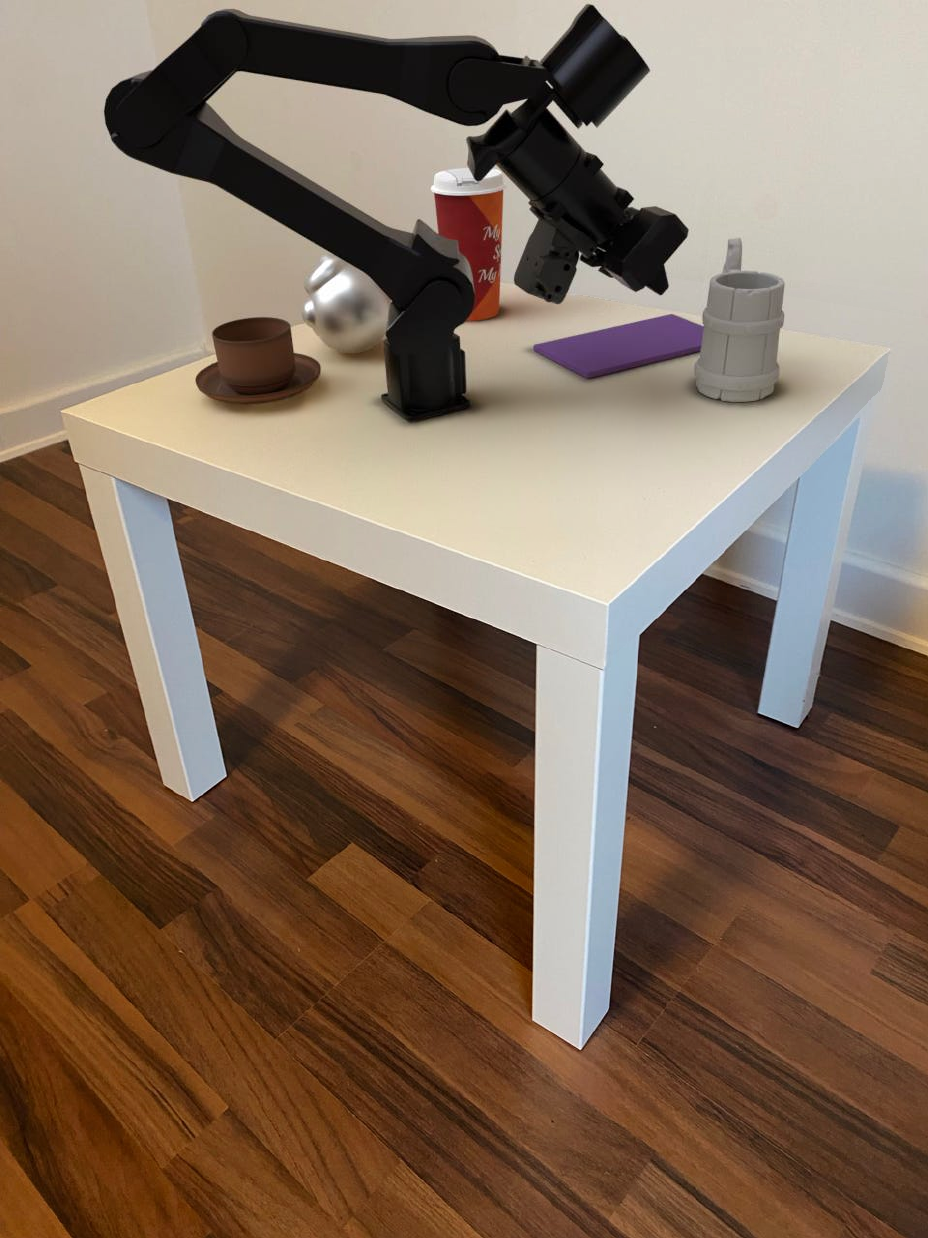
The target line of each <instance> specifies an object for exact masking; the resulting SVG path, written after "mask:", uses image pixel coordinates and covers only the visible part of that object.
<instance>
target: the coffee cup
mask: <svg viewBox="0 0 928 1238" xmlns="http://www.w3.org/2000/svg"><path fill="white" fill-rule="evenodd" d="M506 188H507V183H506V182H505V181H504V177H503V172H502V170H500V169H497V168H492V169H491V171H490V172H489V173H488V174H487V175H486V176H485V177H484V178H483V179H482V180H481V181H476V180H475V179H474V177H473V175H472V174H471V172H470V170H469V168H468V167H460V168H459V167H458V168H451V169H445V170H441V171H439V172H436V173H435V174H434V176H433V185H431V186H430V192H432V193H433V196H434V206H435V207H434V208H435V214H436V215H435V216H436V224H437V233H438V234H439V235H440V236H443V237H445V238H447V239H452V240H457V241H458V248H459V252H460V253H462V254H463V255H464V256H465V257H466V259H467V260H468V262H469V265H470V267H471V271H472V275H473V283H474V292H475V300H474V307H473V310H472V312H471V314H470V316H469V317H468V319H467V320H466V321H465V322H476V321H477V322H478V321H484V320H489V319H492V318H495V317H496V316H497V315H498V314H499V312H500V299H501V298H500V296H501V295H500V294H501V270H502V245H503V244H502V243H503V241H502V240H503V238H502V237H503V211H504V190H505V189H506Z"/></svg>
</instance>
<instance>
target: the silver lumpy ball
mask: <svg viewBox="0 0 928 1238" xmlns="http://www.w3.org/2000/svg"><path fill="white" fill-rule="evenodd" d="M303 288H304V290H305V292H306V293H307V296H306V298H305V299H304V302H303V304H302V307H301V317H302V320H303V322H304V323H305V325H306V326H308V327H309V328H311V329H312V331H313V332H314V334H315V335H316V336H317V337H318V338H319V339H320V341H322V343H323V344H324V345H325V346H326V347H328V348H330V349H331V350H334V351H337V352H340V353H344V354H359V353H364V352H366V351H369V350H371V349H373V348H374V347H376V346H377V345H378V344H379V343H380V342H382V341H383V338H384V337H386V335H385V334H386V327H387V319H388V311H389V305H390V303H391V299H390V298H389V297H388V296H387V295H386V294H385V293H384V292H383V291H382V290H381V289H380V288H379V286H378V285H377V284H376V283H375V282H374V281H373V280H372V279H371V278H370V277H369V276H368V275H367V274H365V273H364V272H362V271H361V270H359V269H357V268H356V267H354V266H352V265H351V264H349V263H347V262H345V261H344V260H342V259H340V258H339V257H337V256H335V255H334V254H332V253H324V254H322V255H320V257H319V258H318V260H317V261H316V262H315V264H314V265H313V266H312V269H311V271H310V273H309V275H308V276H306V278H304V281H303Z"/></svg>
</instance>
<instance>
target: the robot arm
mask: <svg viewBox="0 0 928 1238" xmlns="http://www.w3.org/2000/svg"><path fill="white" fill-rule="evenodd" d="M240 72H243V73H249V74H255V75H262V76H266V77H274V78H280V79H286V80H292V81H298V82H304V83H310V84H316V85H323V86H328V87H335V88H340V89H347V90H353V91H358V92H359V91H360V92H366V93H372V94H379V95H383V96H387V97H389V98H392V99H395V100H397V101H400V102H402V103H404V104H407V105H409V106H411V107H414V108H416V109H418V110H420V111H423V112H425V113H427V114H430V115H433V116H436V117H439V118H441V119H444V120H447V121H449V122H452V123H454V124H458V125H460V126H465V127H478V126H482V125H484V124H487V122H489V121H490V120H491V119H493V118H494V117H495V116H497V114H498V113H499V112H500V110H501V109H502V107H503V106H504V105H509V104H512V103H517V102H521V101H523V103H522V104H521V105H519V106H518V107H517V108H515V109H514V110H513V111H512V112H511V111H510V110H509V109H507V108H506V109H504V111H503V112H502V113H501V114H500V115H499V117H498V118H497V119H496V120H495V121H494V122H493V123H492V125H490V127H489V128H488V129H487V130H486V132H484V133H483V134H480V135H476V136H475V135H474V136H473V135H469V136H467V137H466V139H465V142H466V145H467V150H468V151H467V161H466V166H467V168H469V170H470V172H471V174H472V175H473V177H474V179H475V180H476V181H481V180H482V179H483V178H484V177H485V176H486V175H487V174H488V173H489V172H490V171H491V169H494V167H495V166H496V167H497V168H498V169H499V170H500V171H501V173H502V174H504V175H505V176H506V177H507V178H508V179H509V180H510V181H511V182H512V183H513V184H514V186H515V187H517V189H519V190H520V192H521V193H523V194H524V196H526V198H527V199H528V200H529V201H528V202H527V204H528V205H529V206H530V207H529V209H528V210H529V211H530V212H531V213H532V214H533V215H534V216H535V218H537V219H538V220H537V221H536V224H535V226H534V228H533V230H532V232H531V234H530V235H529V237H528V239H527V242H526V243H525V247H524V249H523V251H522V254H521V256H520V259H519V261H518V265H517V267H516V268H515V271H514V276H513V283H514V285H515V286H516V287H518V288H519V289H521V290H522V291H523V292H524V293H526V294H528V295H531V296H533V297H536V298H539V299H542V300H543V301H545V302H546V303H552V304H555V305H560V304H562V303H563V302H564V300H565V298H566V297H567V294H568V293H569V290H570V288H571V286H572V283H573V282H574V281H573V280H574V278H575V276H576V274H577V265H578V263H579V261H580V262H582V263H584V264H585V265H587V266H589V267H590V268H598V270H597V271H598V272H599V273H601V274H602V275H604V276H606V277H608V278H611V279H614V280H616V281H617V282H618V283H619V284H621V285H622V286H624V287H626V288H627V289H629V290H631V291H632V292H635V293H637V292H639V291H641V290H644V289H645V288H647V289H648V290H650V291H652V292H653V293H655V294H657V295H658V296H663V295H664V294H665V293H666V291H667V290H668V289H669V287H670V285H669V279H668V275H667V271H666V265H665V264H666V263H667V262H668V261H669V259H670V258H671V257H672V256H673V254H675V252H676V251H677V250H678V248H680V246H681V245H682V244H683V243H684V242H685V240H686V239H687V238H688V237H689V231H690V230H689V228H688V227H687V225H685V223H684V222H683V221H682V220H681V218H679V216H678V215H677V214H676V213H673V212H672V211H669V210H666V209H664V208H662V207H659V206H656V205H654V206H645V207H641V208H640V209H637V208H635V207H633V206H630V205H631V204H632V202H633V201H634V200H635V197H634V196H633V195H632V194H631V193H630V192H629V191H628V190H627V189H624V188H622V187H619V186H616V184H615V183H614V182H613V181H612V179H611V178H610V177H608V175H607V173H605V172H604V171H603V169H602V168H603V167H604V165H605V164H604V162H603V161H602V160H601V159H600V158H599V156H598V155H596V154H593V153H590V152H588V151H586V150H585V149H584V148H583V146H581V144H579V142H578V141H577V140H576V139H575V138H574V137H573V136H572V134H571V133H570V132H569V131H568V130H567V128H565V126H563V124H562V123H561V122H560V121H559V120H558V119H557V117H556V116H555V115H554V114H553V113H552V112H551V111H550V110H549V109H548V107H549V106H550V105H551V104H552V102H554V103H555V105H556V106H557V107H558V108H559V110H561V112H562V113H563V114H564V115H565V116H566V117H567V118H568V119H569V120H570V122H571V123H572V124H573V125H574V127H576V129H577V130H579V129H580V128H582V126H583V124H584V125H585V126H586V127H588V126H589V125H590V124H592V125H593V126H594V127H595V128H596V129H598V128H599V127H600V126H601V125H602V124H603V122H604V121H605V120H606V119H607V118H608V117H609V116H610V115H611V114H612V113H613V112H614V111H615V110H616V108H618V106H619V105H621V103H622V102H623V101H624V100H625V99H626V98H627V97H628V96H629V95H630V94H631V93H632V92H633V90H635V88H636V87H637V86H638V85H639V84H640V83H641V82H642V80H644V79H645V78H646V77H647V75H648V74H649V73H650V72H651V69H650V66H649V65H648V63H647V62H646V61H645V60H644V58H643V57H642V55H641V54H640V53H639V52H638V50H637V49H636V48H635V46H634V45H633V44H632V43H631V42H630V40H629V39H628V38H627V37H626V36H624V35H622V34H620V33H619V32H618V31H617V30H616V28H614V27H613V25H612V24H611V23H610V22H609V21H608V20H607V19H606V18H605V17H604V16H603V15H602V13H601V12H600V10H598V9H597V8H596V6H595V4H591V3H586V4H585V5H584V6H583V7H582V9H581V10H580V11H579V12H578V13H577V14H576V15H575V17H574V19H573V21H572V22H571V24H570V26H569V28H567V30H566V31H565V32H564V33H563V34H562V35H561V37H560V38H559V39H558V40H557V41H556V42H555V43H554V44H553V46H552V47H551V48H550V49H549V50H548V51H547V52H546V53H545V55H543V57H542V58H541V59H540V61H539V60H538V59H532V58H530V57H529V55H527V54H526V55H525V56H524V57H518V56H512V55H511V56H510V55H504V54H499V52H498V50H497V49H496V47H494V45H493V44H492V43H490V41H488V40H486V39H485V38H482V37H480V36H478V35H471V34H468V35H441V36H440V35H438V36H423V37H421V36H420V37H408V38H386V37H381V36H375V35H369V34H363V33H357V32H351V31H345V30H338V29H334V28H327V27H322V26H315V25H311V24H304V23H297V22H291V21H285V20H281V19H280V20H279V19H275V18H270V17H269V18H268V17H263V16H257V15H251V14H247V13H245V12H244V11H241V10H239V9H236V8H224V9H223V8H222V9H219V10H217V11H214V12H212V13H210V14H207V16H206V17H205V19H203V20H202V22H201V24H200V27H199V28H198V29H196V31H194V33H193V34H191V35H190V36H189V37H188V38H186V40H185V41H184V42H183V43H181V44H180V45H179V46H178V47H177V48H176V49H175V50H173V51H172V52H171V53H170V54H169V55H168V56H167V57H166V58H165V59H163V60H162V61H161V62H160V63H159V64H157V65H156V66H155V67H154V68H153V69H151V70H147V71H143V72H140V73H138V74H135V75H133V76H130V77H128V78H125V79H123V80H121V81H119V82H118V83H117V84H116V85H114V86H113V87H111V89H110V91H109V93H108V95H107V96H106V98H105V103H104V108H103V115H104V124H105V126H106V129H107V132H108V134H109V137H110V140H111V142H112V143H113V144H114V146H115V147H116V148H117V149H118V150H119V151H120V152H122V153H123V154H124V155H126V156H127V157H129V158H131V159H133V160H136V161H138V162H140V163H143V164H146V165H148V166H151V167H153V168H157V169H159V170H161V171H164V172H167V173H169V174H172V175H176V176H180V177H184V178H189V179H193V180H197V181H200V182H205V183H208V184H211V185H214V186H216V187H218V188H220V189H221V190H222V191H224V192H226V193H228V194H230V195H231V196H233V197H234V198H236V199H238V200H240V201H241V202H243V203H244V204H247V205H248V206H250V207H251V208H254V209H255V210H257V211H259V212H260V213H262V214H263V215H266V216H267V217H269V218H270V219H272V220H273V221H275V222H277V223H279V224H280V225H282V226H284V227H286V228H288V229H290V231H293V232H294V233H296V234H297V235H299V236H301V237H303V238H305V239H306V240H308V241H310V242H311V243H313V244H315V245H316V246H318V247H320V248H321V249H323V250H325V251H327V252H329V254H332V255H335V256H337V257H339V258H340V259H342V260H344V261H345V262H347V263H349V264H351V265H352V266H354V267H356V268H357V269H359V270H361V271H362V272H364V273H365V274H367V275H368V276H369V277H370V278H371V279H372V280H373V281H374V282H375V283H376V284H377V285H378V286H379V288H380V289H381V290H382V291H383V292H384V293H385V294H386V295H387V296H388V297H389V298H390V299H391V303H390V305H389V311H388V319H387V327H386V334H385V339H382V345H383V346H382V347H383V355H384V366H385V367H384V369H385V378H386V379H385V380H386V389H387V392H385V393H382V394H381V395H380V400H381V401H382V402H383V403H384V404H385V405H387V407H389V408H391V409H392V410H393V411H394V412H396V413H397V414H398V415H400V416H401V417H402V418H404V419H405V420H406V421H408V422H414V421H418V420H422V419H423V420H424V419H426V418H430V417H435V416H439V415H444V414H446V413H447V414H448V413H451V412H454V411H459V410H462V409H467V408H470V407H471V406H472V401H471V399H469V398H468V397H466V396H464V395H466V394H467V390H468V389H467V388H468V386H467V366H466V365H467V364H466V362H467V361H466V351H464V349H462V348H461V336H460V335H458V334H457V333H455V329H457V328H458V327H460V326H462V325H464V324H465V322H467V321H466V320H467V319H468V317H469V316H470V314H471V312H472V310H473V307H474V300H475V292H474V283H473V275H472V271H471V267H470V265H469V262H468V260H467V259H466V257H465V256H464V255H463V254H462V253H460V252H459V248H458V241H457V240H452V239H447V238H445V237H443V236H440V235H439V234H438V232H437V231H435V230H434V229H433V228H432V227H431V226H429V225H428V224H427V223H426V222H425V221H424V220H422V219H420V218H418V219H417V220H416V221H415V225H414V227H413V230H412V232H410V231H405V230H401V229H397V228H393V227H390V226H388V225H386V224H384V223H382V222H381V221H379V220H378V219H376V218H374V217H373V216H371V215H369V214H368V213H366V212H365V211H363V210H361V209H359V208H357V207H356V206H354V205H353V204H351V203H350V202H348V201H346V200H345V199H343V198H341V197H340V196H338V195H336V194H335V193H333V192H331V190H329V189H327V188H325V187H323V186H322V185H320V184H319V183H317V182H315V181H313V180H312V179H310V178H308V177H307V176H305V175H303V174H302V173H300V172H299V171H297V170H295V169H293V168H292V167H290V166H289V165H287V164H285V163H284V162H282V161H281V160H278V159H277V158H276V157H274V156H272V155H271V154H269V153H268V152H267V151H264V150H263V149H261V148H259V147H257V146H256V145H254V144H253V143H251V142H249V141H248V140H246V139H244V138H243V137H241V136H240V135H239V134H237V133H236V132H235V131H234V129H232V128H231V127H230V126H229V124H228V123H227V122H226V121H225V120H224V119H223V118H222V117H221V116H220V114H218V113H217V112H216V110H215V109H214V108H213V107H212V106H211V105H210V104H209V103H208V101H209V100H210V99H211V98H212V97H213V96H215V94H216V93H217V92H218V91H219V90H220V89H221V88H222V87H223V86H224V85H225V84H226V83H227V82H228V81H230V79H231V78H232V77H234V75H235V74H237V73H240Z"/></svg>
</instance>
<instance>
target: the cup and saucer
mask: <svg viewBox="0 0 928 1238" xmlns="http://www.w3.org/2000/svg"><path fill="white" fill-rule="evenodd" d="M291 327H292V326H291V323H290V322H289V321H288V320H285V319H283V318H278V317H271V316H254V317H246V318H240V319H234V320H231V321H228V322H227V321H226V322H224V323H222V324H220V325H218V326H216V327H215V328H213V330H212V332H211V336H212V342H213V347H214V351H215V352H214V353H215V356H216V357H215V358H216V362H213V363H211V364H209V365H207V366H205V367H204V368H203V369H201V370H200V371H198V373H197V374H196V376H195V381H194V382H195V385H196V387H197V389H198V390H199V391H200V392H201V393H202V394H203V395H205V396H206V397H208V398H210V399H212V400H213V401H217V402H221V403H225V404H231V405H243V406H247V405H249V406H251V405H264V404H271V403H276V402H279V401H283V400H287V399H290V398H293V397H295V396H298V395H300V394H301V393H304V392H305V391H307V390H308V389H310V388H311V387H313V385H314V384H315V383H316V381H317V380H318V379H319V378H320V377H321V371H322V369H321V368H322V366H321V364H320V362H319V361H318V360H317V359H315V358H314V357H312V356H309V355H306V354H303V353H299V352H295V350H294V343H293V336H292V335H293V334H292V328H291Z"/></svg>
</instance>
